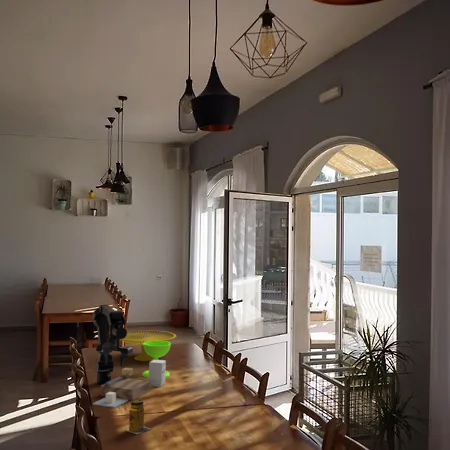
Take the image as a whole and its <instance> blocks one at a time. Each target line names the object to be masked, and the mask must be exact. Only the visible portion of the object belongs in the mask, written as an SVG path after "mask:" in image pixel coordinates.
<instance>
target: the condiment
mask: <svg viewBox="0 0 450 450" xmlns="http://www.w3.org/2000/svg"><path fill="white" fill-rule="evenodd" d="M144 406H145V405H144V400H141V399H134V400H130V407H129V417H128V418H129V419H128V420H129V421H128V428H127V429H125V431H126V432H129V433H132V434H135V435H138V434H141V433H144V432H147V431H149V430H152V428H150V427H147V426H145V407H144Z"/></svg>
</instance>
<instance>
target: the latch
mask: <svg viewBox="0 0 450 450" xmlns="http://www.w3.org/2000/svg"><path fill="white" fill-rule="evenodd" d="M132 375H134V368H132V367H124V368H122V369H121V376H126V377H127V376H128V377H130V376H132Z"/></svg>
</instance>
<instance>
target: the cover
mask: <svg viewBox="0 0 450 450" xmlns="http://www.w3.org/2000/svg"><path fill="white" fill-rule="evenodd" d="M128 401H129V400H128V399H121V398H116V393H115V392H108V393H106V396H104V397H103V398H101V399H99V400H97V401H95V402H93V403H92V405H94V406H98V407H100V406H101V407H104V408H105V407H106V408H113V409H116V408H119V407H120V406H122V405H123V404H125V403H127V402H128ZM121 404H122V405H121Z"/></svg>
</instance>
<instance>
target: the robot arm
mask: <svg viewBox="0 0 450 450" xmlns="http://www.w3.org/2000/svg"><path fill="white" fill-rule="evenodd" d="M91 319H92V321H93V325H94V327H96V330H97V340H98V344H97V345H96V346H95V351H96V352H98V354H99V356H98V358H97V359H96V360H97V362H96V364H95V367H94V372H95V373H96V374H97V376H96V382H95V385H100V386H101V385H104V384H105V383H106V382H108V381H111V380H112V374H111V373H113V371H114V366H115V362H114V359H113V355H112V354H110V353H112V352H120V354H119V356H120V368H122V367H123V366H124V364H125V362H126V360H127V357H128V356H129V355H131V354H132V353H134V352H133V351H134V350H133V347H131V346H123V347H122V344H121V340H120V339H123V338H125V337H127V336H126V335H127V334H128V333H127V332H128V331H127V329H126V328H125V327H124V326H125V325H126V323H127V322H126V318H125V315H124V313H123V312H122V310H115V309H113V307H111V306H110V304H109V305H108V304H100V305H99V307H98V308H96V309H95V310H93V313H92V315H91ZM107 324H108V325H109V326H108V327H109V328H108V329H109V330H108V332H109V333H108V336H107Z"/></svg>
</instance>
